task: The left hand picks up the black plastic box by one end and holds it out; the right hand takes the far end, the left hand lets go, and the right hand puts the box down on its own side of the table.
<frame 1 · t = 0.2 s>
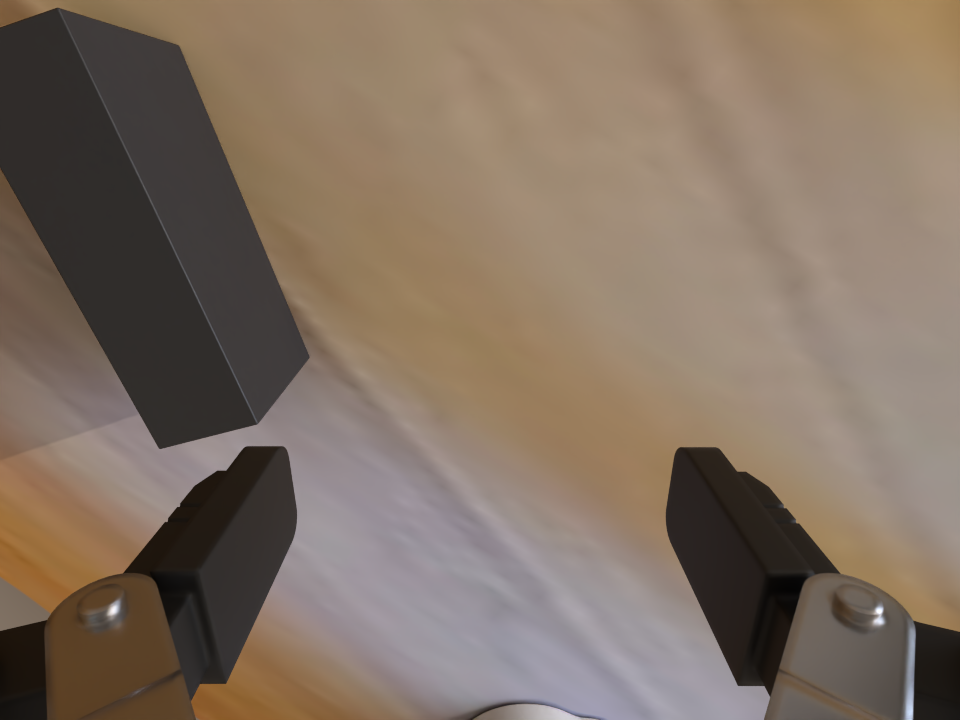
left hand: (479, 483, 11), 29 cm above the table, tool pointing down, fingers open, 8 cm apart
box: (209, 229, 38), on the table
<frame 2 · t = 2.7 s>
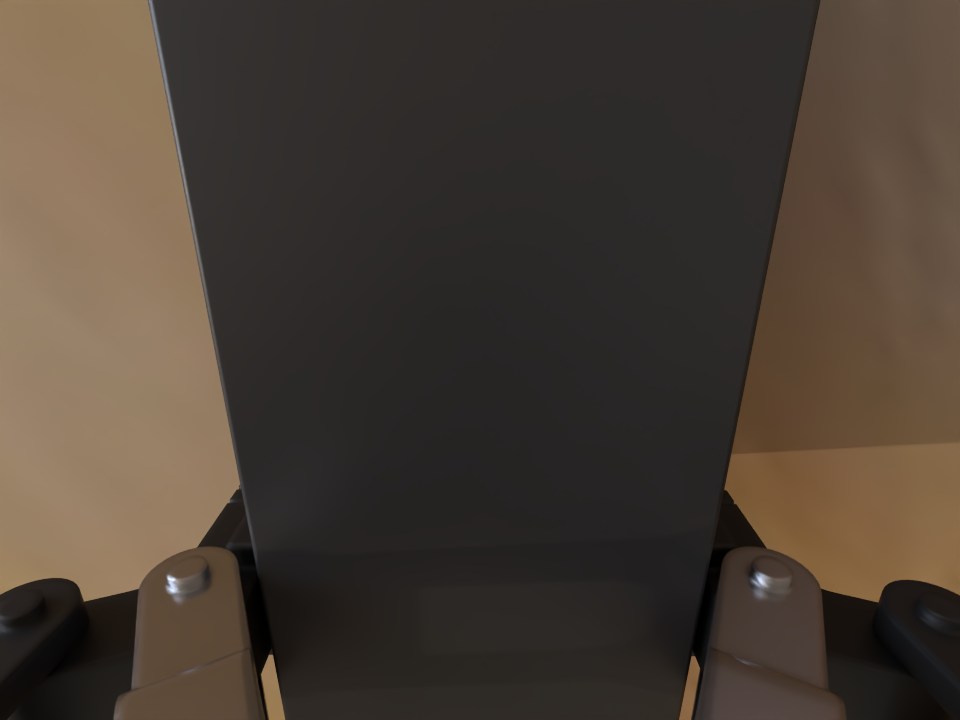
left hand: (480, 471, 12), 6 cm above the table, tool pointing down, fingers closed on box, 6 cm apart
box: (481, 131, 15), on the table, touching left hand
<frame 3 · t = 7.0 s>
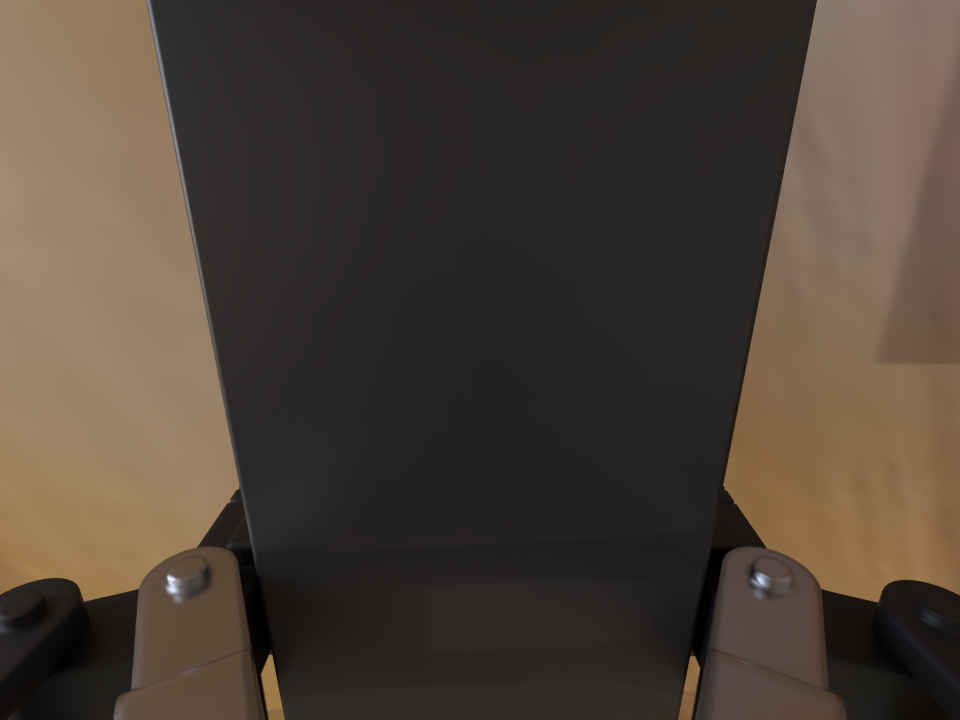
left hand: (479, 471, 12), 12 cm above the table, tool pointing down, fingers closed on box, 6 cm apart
box: (480, 130, 15), point 6 cm above the table, touching left hand, right hand
when the right hand's fingers open (6 cm above the table, at t = 16.4 s): box stays where it is, on the table.
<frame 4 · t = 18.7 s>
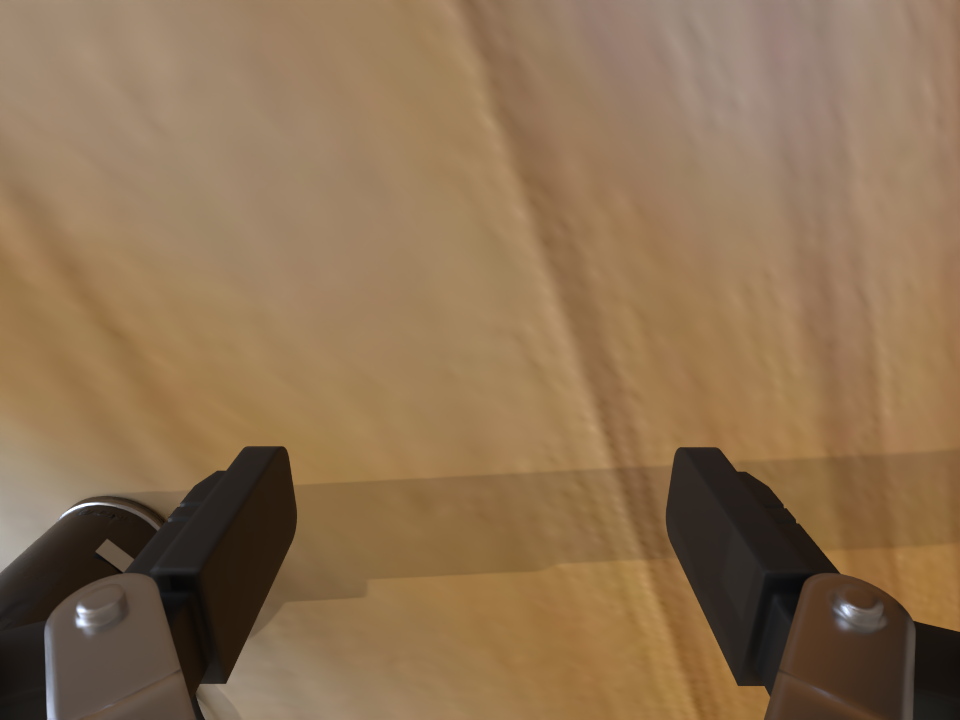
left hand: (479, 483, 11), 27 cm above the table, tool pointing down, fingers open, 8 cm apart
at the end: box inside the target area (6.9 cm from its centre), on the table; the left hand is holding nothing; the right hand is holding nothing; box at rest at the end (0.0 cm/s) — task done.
